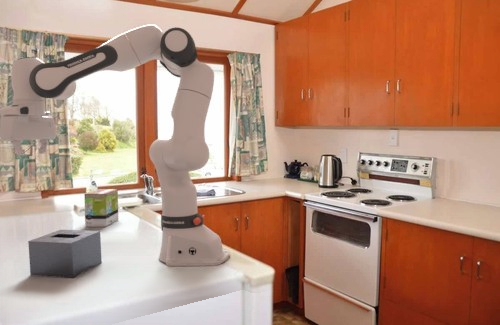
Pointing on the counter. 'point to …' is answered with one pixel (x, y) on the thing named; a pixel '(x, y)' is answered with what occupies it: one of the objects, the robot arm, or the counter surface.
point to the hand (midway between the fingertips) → (31, 154)
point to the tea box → (101, 207)
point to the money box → (64, 253)
